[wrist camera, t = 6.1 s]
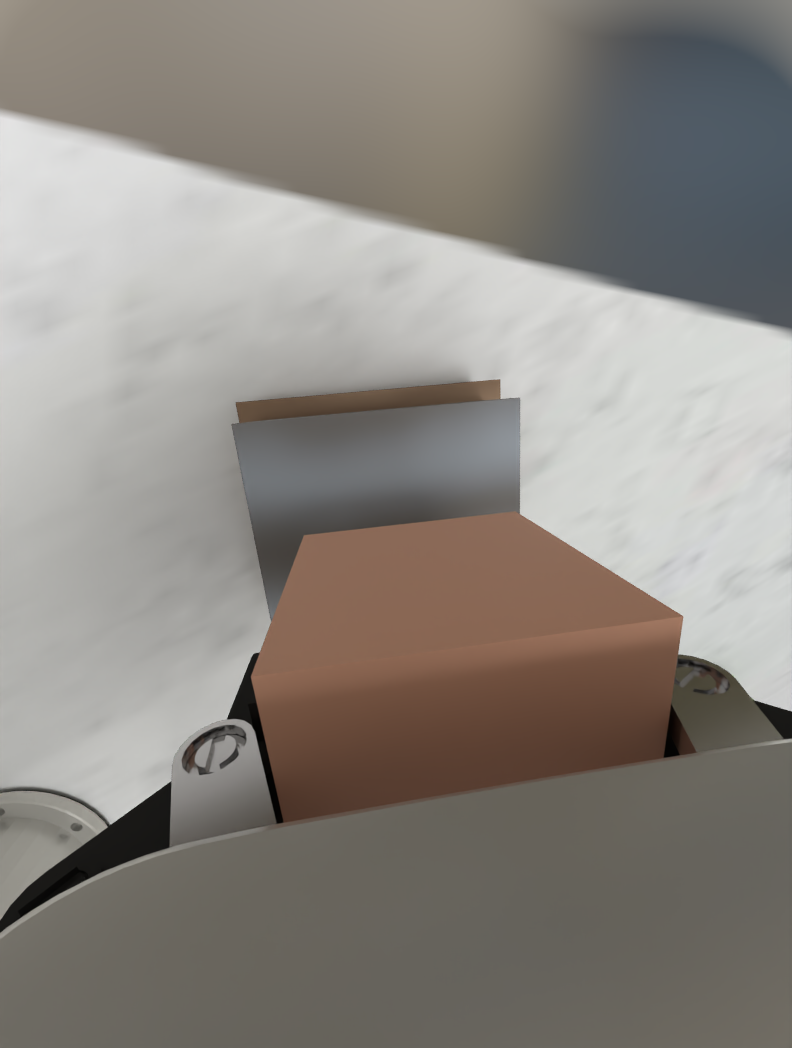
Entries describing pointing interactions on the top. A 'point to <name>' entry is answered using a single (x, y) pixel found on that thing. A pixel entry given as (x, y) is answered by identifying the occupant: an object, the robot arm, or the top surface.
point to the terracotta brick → (455, 664)
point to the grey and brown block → (373, 463)
